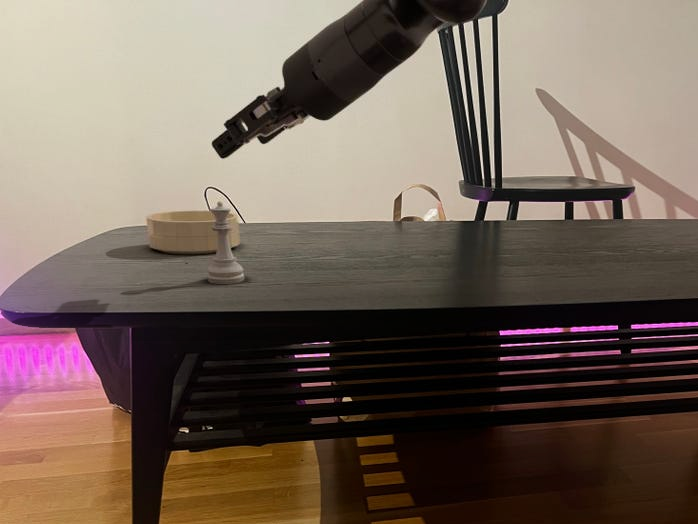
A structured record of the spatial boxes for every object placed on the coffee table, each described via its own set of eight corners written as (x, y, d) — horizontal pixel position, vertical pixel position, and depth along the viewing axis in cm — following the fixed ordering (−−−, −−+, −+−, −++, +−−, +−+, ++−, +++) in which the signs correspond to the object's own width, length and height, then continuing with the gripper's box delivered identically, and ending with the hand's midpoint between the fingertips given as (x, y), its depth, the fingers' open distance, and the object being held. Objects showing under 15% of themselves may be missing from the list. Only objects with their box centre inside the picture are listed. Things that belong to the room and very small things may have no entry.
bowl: (171, 259, 101) (168, 224, 100) (136, 246, 110) (132, 213, 108) (255, 249, 110) (253, 217, 109) (216, 238, 119) (213, 208, 117)
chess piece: (248, 277, 92) (242, 200, 89) (239, 284, 88) (232, 203, 85) (214, 276, 92) (207, 198, 88) (203, 284, 88) (195, 202, 84)
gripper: (345, 32, 81) (252, 106, 88) (282, 40, 69) (181, 125, 76) (381, 91, 83) (287, 159, 90) (325, 109, 71) (223, 186, 78)
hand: (238, 143), depth 83 cm, fingers open, 8 cm apart
